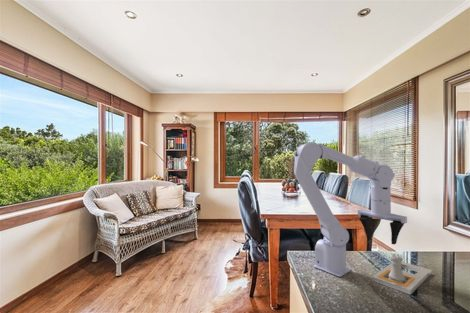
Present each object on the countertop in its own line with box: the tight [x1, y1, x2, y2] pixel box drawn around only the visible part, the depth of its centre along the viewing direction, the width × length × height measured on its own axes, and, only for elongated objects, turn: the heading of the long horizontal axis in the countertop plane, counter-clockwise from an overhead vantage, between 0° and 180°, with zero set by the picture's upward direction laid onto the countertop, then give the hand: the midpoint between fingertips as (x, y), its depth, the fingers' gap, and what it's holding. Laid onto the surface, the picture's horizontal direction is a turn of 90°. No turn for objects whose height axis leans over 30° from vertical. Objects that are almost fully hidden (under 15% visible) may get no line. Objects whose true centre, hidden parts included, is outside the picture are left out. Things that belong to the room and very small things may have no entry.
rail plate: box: [371, 261, 432, 295], centre depth 76 cm, size 10×20×1 cm, turn 128°
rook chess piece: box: [387, 253, 407, 284], centre depth 73 cm, size 4×4×8 cm
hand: (381, 240), depth 81 cm, fingers open, 7 cm apart
